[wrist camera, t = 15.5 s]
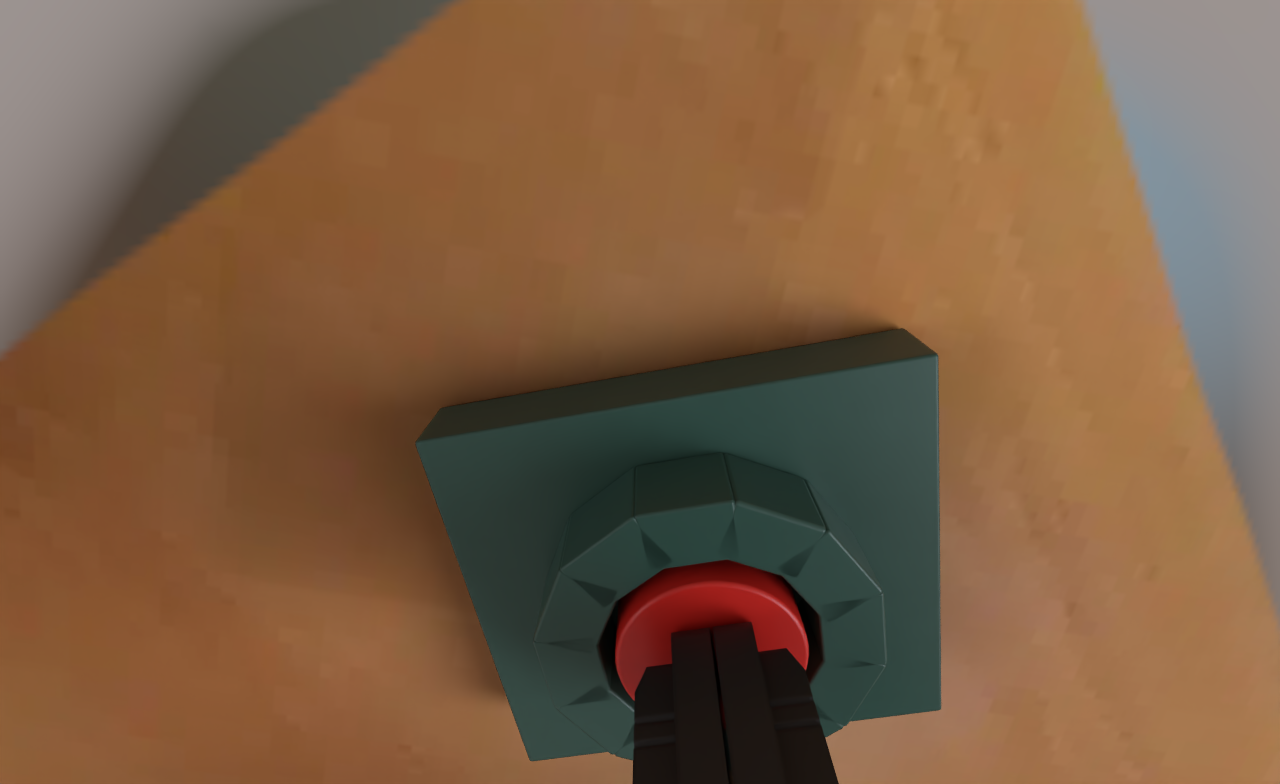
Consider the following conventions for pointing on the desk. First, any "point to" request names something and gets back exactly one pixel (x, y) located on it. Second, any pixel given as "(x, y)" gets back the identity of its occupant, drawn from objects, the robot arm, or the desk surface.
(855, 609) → the button box
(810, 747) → the robot arm
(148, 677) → the desk surface
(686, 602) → the button
